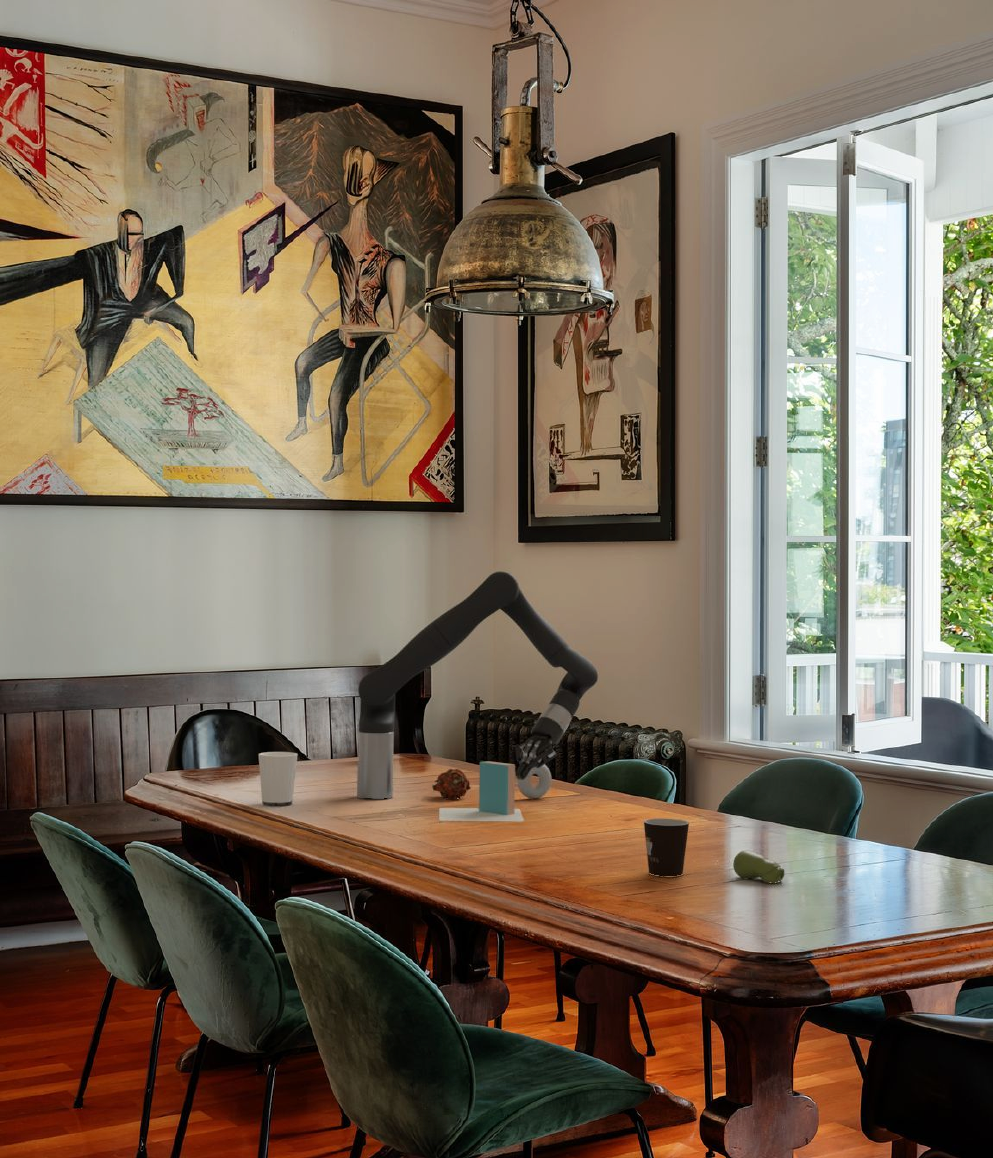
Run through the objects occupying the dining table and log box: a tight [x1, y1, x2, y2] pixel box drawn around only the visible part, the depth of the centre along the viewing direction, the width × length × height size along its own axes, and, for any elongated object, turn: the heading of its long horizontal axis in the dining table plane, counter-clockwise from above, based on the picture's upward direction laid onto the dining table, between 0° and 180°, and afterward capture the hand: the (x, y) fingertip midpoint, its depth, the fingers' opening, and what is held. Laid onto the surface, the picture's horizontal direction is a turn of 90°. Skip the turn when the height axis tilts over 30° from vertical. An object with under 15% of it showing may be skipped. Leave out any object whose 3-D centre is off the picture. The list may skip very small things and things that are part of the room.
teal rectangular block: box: [478, 761, 516, 815], centre depth 334 cm, size 3×9×12 cm, turn 47°
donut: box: [516, 764, 552, 800], centre depth 361 cm, size 10×4×10 cm, turn 117°
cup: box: [258, 751, 298, 807], centre depth 345 cm, size 10×10×13 cm
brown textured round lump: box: [432, 768, 472, 800], centre depth 360 cm, size 8×8×12 cm
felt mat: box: [438, 807, 525, 823], centre depth 330 cm, size 20×20×1 cm
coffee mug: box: [643, 817, 690, 876], centre depth 263 cm, size 12×9×10 cm
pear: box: [732, 850, 785, 883], centre depth 257 cm, size 6×5×10 cm
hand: (519, 777), depth 340 cm, fingers closed
